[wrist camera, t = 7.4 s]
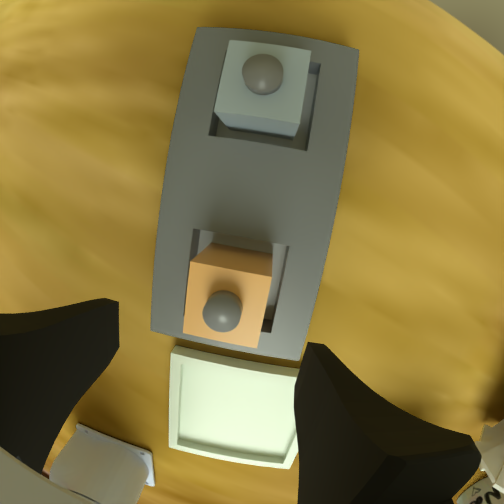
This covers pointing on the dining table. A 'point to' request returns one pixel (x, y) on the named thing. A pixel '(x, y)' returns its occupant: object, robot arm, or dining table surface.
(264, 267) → the orange plug
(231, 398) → the tray
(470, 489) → the mug
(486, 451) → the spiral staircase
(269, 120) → the seated twin plug
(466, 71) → the dining table surface
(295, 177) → the grey socket board
